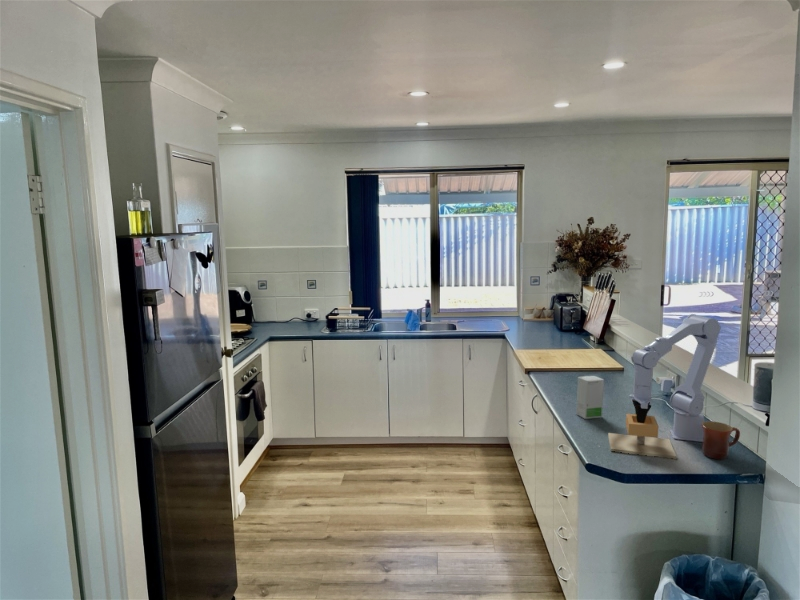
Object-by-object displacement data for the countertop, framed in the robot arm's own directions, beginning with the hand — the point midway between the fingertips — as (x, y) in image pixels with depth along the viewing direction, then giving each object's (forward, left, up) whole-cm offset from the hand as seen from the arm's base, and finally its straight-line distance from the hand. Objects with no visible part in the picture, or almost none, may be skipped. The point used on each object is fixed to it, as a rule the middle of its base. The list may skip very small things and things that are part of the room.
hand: (640, 421), depth 184 cm
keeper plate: (0, +4, -8) cm, 9 cm away
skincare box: (+16, -22, -8) cm, 29 cm away
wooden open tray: (0, +4, -2) cm, 4 cm away
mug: (-24, +4, -8) cm, 26 cm away
